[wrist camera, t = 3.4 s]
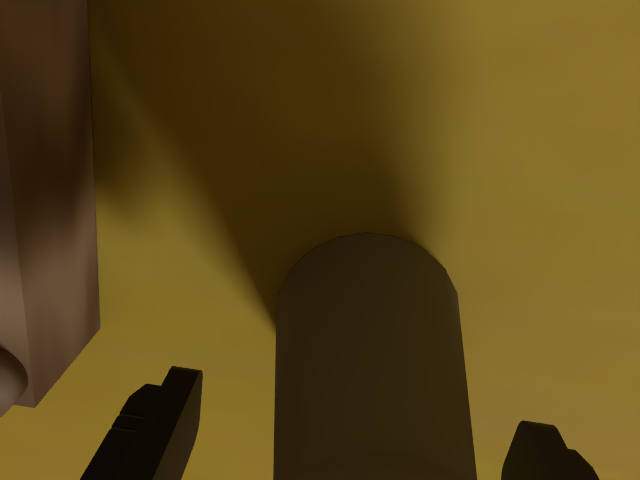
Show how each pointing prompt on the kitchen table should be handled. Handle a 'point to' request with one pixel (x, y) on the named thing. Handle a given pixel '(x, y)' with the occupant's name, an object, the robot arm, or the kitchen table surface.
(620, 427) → the kitchen table surface
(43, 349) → the knobbed square tray
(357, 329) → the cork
